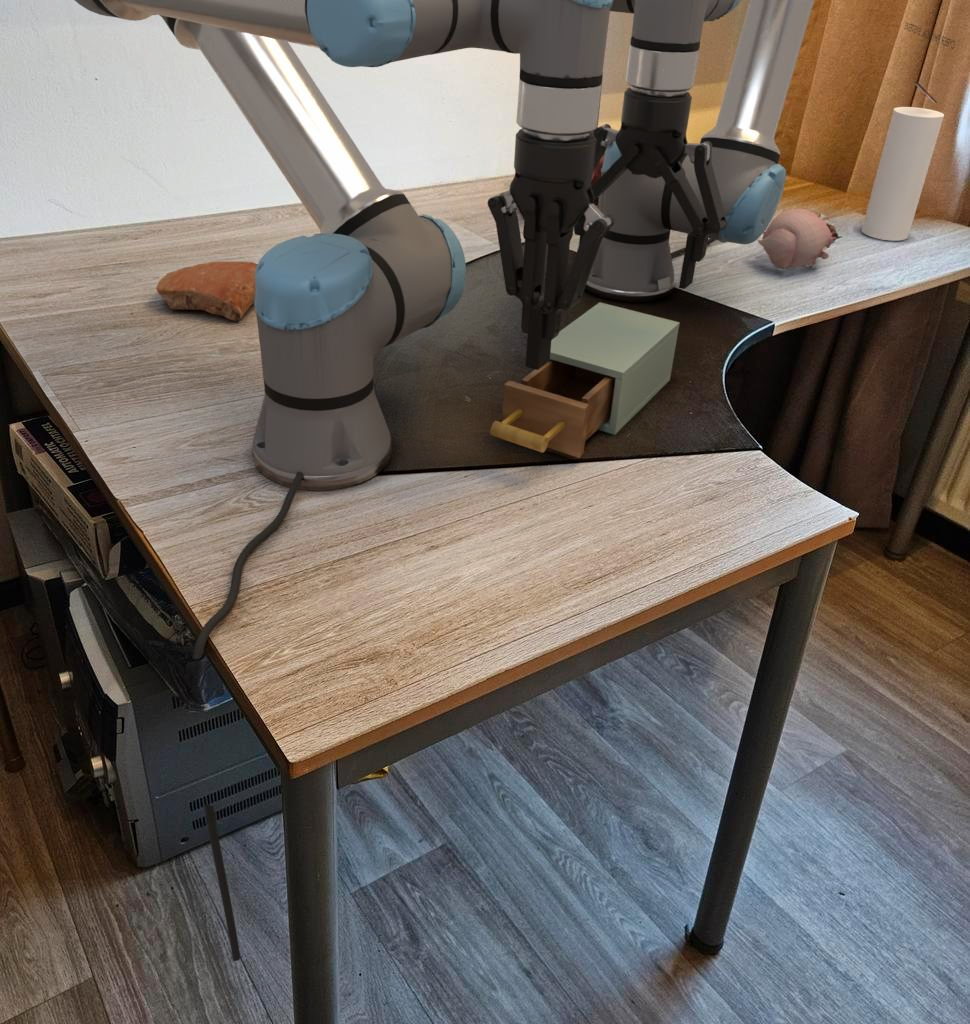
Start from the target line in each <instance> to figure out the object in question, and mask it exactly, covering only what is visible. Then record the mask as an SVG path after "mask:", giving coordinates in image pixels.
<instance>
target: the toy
mask: <svg viewBox="0 0 970 1024" xmlns="http://www.w3.org/2000/svg"><path fill="white" fill-rule="evenodd" d="M830 221H831V220H830V219H829V217H827V216H826V215H825V214H824V213H820V214H816V213H814V212H813V211H811V210H808V209H805V208H798V207H797V208H789V209H787V210H784V211H783V212H781V213H779V214H778V215H777V216H776V217H775V218H774V219H772V220H771V221H770V223H769V225H768V227H767V228H766V230H765V231H764V232H763V234H762V239H757V242H758V243H759V245H760V246H762V248H763V251H764V252H765V253H766V255H767V257H768V259H769V261H770V262H771V264H773V266H774V267H775V268H777V269H783V270H785V271H788V270H790V269H792V267H793V268H805V269H807V266H809V268H813V267H814V266H815V265H816V263H817V259H819V258H820V259H822V260H827V259H828V258H829V254H828V253H827V252H826V250H827V249H829V248H830V247H831V245H832V244H834V243H835V242H836V241H837V240H838V239H841V238H842V236H841V235H840V236H839V233H838V232H837V228H836V226H835V223H830Z"/></svg>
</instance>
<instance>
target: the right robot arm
mask: <svg viewBox="0 0 970 1024" xmlns="http://www.w3.org/2000/svg"><path fill="white" fill-rule="evenodd" d="M741 1H742V0H613V4H611V5H612V6H611V7H610V12H615V13H624V14H632V15H633V17H632V20H633V21H632V26H631V37H630V44H629V52H628V59H627V66H626V74H625V83H626V84H627V85H628V86H629V87H627V88H626V90H625V91H624V93H623V100H622V109H621V111H622V112H621V119H620V128H619V130H618V129H614V128H612V126H611V125H610V124H608V123H606V124H603V125H600V126H598V128H597V129H596V130H594V132H593V135H594V136H595V138H596V150H595V160H594V169H595V168H596V166H597V164H598V163H599V161H600V159H601V158H602V156H603V154H604V153H605V155H604V161H603V167H602V168H601V172H602V174H601V177H600V178H599V179H598V180H597V181H596V182H595V183H594V184H593V185H592V186H591V188H592V192H593V194H594V202H595V201H596V200H597V199H598V204H597V208H598V209H599V210H600V211H601V212H602V213H603V214H604V215H607V214H610V215H612V216H613V217H614V220H615V222H614V225H613V226H612V227H611V228H610V230H609V231H608V232H607V233H606V234H605V236H604V237H603V238H602V241H601V244H600V247H599V250H598V253H597V255H596V258H595V261H594V264H593V267H592V269H591V272H590V275H589V278H588V281H587V283H586V286H585V289H584V291H587V292H589V293H591V294H593V295H595V296H597V297H600V298H603V299H608V300H612V301H617V302H625V303H626V302H628V303H629V302H630V303H646V302H647V303H648V302H654V301H659V300H662V299H664V298H667V297H669V296H670V295H671V294H672V293H673V291H674V286H675V281H676V279H675V271H674V265H673V259H672V258H674V257H677V256H679V255H682V254H683V259H682V266H681V271H680V276H679V277H680V278H679V282H678V283H679V284H678V289H680V290H686V289H687V288H688V287H689V286H691V285H692V284H693V282H694V276H695V271H696V265H697V263H700V262H701V261H702V260H704V258H705V256H706V254H707V247H708V245H709V244H712V243H713V242H715V241H719V242H721V243H723V244H724V243H730V244H731V243H732V244H737V245H750V244H753V243H754V242H756V241H758V240H759V239H760V237H761V236H763V233H764V232H766V230H767V228H768V227H769V225H770V224H771V222H772V220H773V217H774V215H775V213H776V212H777V209H778V206H779V204H780V202H781V199H782V196H783V193H784V186H785V184H786V180H787V170H786V169H785V167H784V166H783V165H781V164H780V163H779V161H780V158H781V150H780V149H779V147H778V145H777V144H776V141H775V136H776V134H777V130H778V127H779V123H780V119H781V116H782V112H783V109H784V106H785V102H786V98H787V95H788V91H789V89H790V84H791V81H792V78H793V75H794V71H795V68H796V64H797V62H798V57H799V55H800V50H801V47H802V43H803V40H804V37H805V34H806V29H807V26H808V23H809V21H810V16H811V13H812V9H813V6H814V4H815V3H814V2H815V0H749V2H748V6H747V10H746V13H745V16H744V21H743V23H742V28H741V31H740V35H739V39H738V43H737V46H736V50H735V52H734V53H735V54H734V57H733V59H732V60H733V61H732V64H731V68H730V72H729V75H728V78H727V83H726V87H725V91H724V94H723V96H722V101H721V105H720V109H719V112H718V116H717V119H716V123H715V125H714V127H713V128H712V129H711V130H709V131H707V132H706V133H705V134H703V135H702V136H701V138H700V141H699V143H698V142H697V143H696V142H688V140H687V131H688V126H689V119H690V114H691V113H690V112H691V107H692V99H693V97H692V95H691V93H690V90H691V89H692V88H694V86H695V78H696V73H697V66H698V60H699V54H700V46H701V41H702V33H703V27H704V23H706V22H714V21H716V20H720V19H721V18H724V17H725V16H726V15H727V14H729V13H731V12H732V11H734V9H735V8H737V6H739V4H740V3H741ZM594 169H593V171H594ZM585 220H586V218H585V215H584V216H583V218H582V219H581V220H580V221H579V222H578V223H577V224H576V226H575V227H574V229H573V234H574V235H575V236H579V240H578V245H579V244H580V242H581V239H582V237H583V236H584V234H585V233H586V231H584V223H585ZM671 231H673V232H678V233H682V234H687V235H686V242H685V247H681V248H679V249H678V250H675V251H672V252H671V246H670V236H671Z"/></svg>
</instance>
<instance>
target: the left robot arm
mask: <svg viewBox="0 0 970 1024" xmlns="http://www.w3.org/2000/svg"><path fill="white" fill-rule="evenodd" d="M74 2H76V3H77V4H78V5H79V6H81V7H83V8H84V9H86V10H87V11H89V12H92V13H94V14H97V15H99V16H105V17H111V18H117V19H122V20H126V21H127V20H128V21H135V22H136V21H137V22H138V21H143V20H146V19H149V18H150V17H152V16H159V17H161V18H162V20H163V21H164V23H165V24H166V26H167V27H168V29H169V30H170V31H171V33H172V34H173V36H174V37H175V39H176V41H177V42H178V43H179V44H180V45H181V46H182V47H185V48H187V49H191V50H192V49H193V50H198V51H200V52H201V53H202V55H203V56H204V58H205V59H206V61H207V62H208V64H209V65H210V67H211V68H212V70H213V72H214V73H215V74H216V76H217V77H218V79H219V80H220V82H221V83H222V85H223V86H224V88H225V90H226V91H227V93H228V94H229V96H230V97H231V98H232V100H233V101H234V103H235V105H237V108H238V109H239V110H240V112H241V113H242V115H243V116H244V119H245V120H246V121H247V122H248V124H249V126H250V127H251V128H252V130H253V132H254V133H255V135H256V136H257V138H258V140H260V142H261V144H262V145H263V147H264V148H265V150H266V151H267V152H268V154H269V156H270V157H271V159H272V160H273V161H274V163H275V164H276V166H277V167H278V169H279V171H280V172H281V173H282V175H283V176H284V178H285V179H286V181H287V182H288V184H289V186H290V187H291V189H292V190H293V192H294V193H295V195H296V196H297V197H298V199H299V200H300V202H301V204H302V205H303V206H304V209H306V211H307V213H308V214H309V216H310V217H311V219H312V220H313V222H314V223H315V224H316V226H317V228H318V229H319V230H320V233H314V234H313V235H311V236H306V235H300V236H296V237H293V238H289V239H287V240H284V241H282V242H280V243H278V244H276V245H273V246H272V247H271V248H270V249H268V250H267V251H266V252H265V253H264V254H263V255H262V256H261V257H260V259H259V261H258V262H257V264H258V265H257V267H256V271H255V289H256V291H255V297H254V303H253V305H254V310H255V313H256V322H257V331H258V340H259V349H260V357H261V358H260V359H261V368H262V379H263V388H264V390H263V391H264V396H263V400H262V404H261V408H260V412H259V415H258V419H257V423H256V427H255V430H254V434H253V439H252V455H253V460H254V464H255V467H256V468H257V470H258V471H259V472H260V473H261V474H262V475H263V476H265V477H266V478H268V479H269V480H271V481H273V482H275V483H278V484H280V485H283V486H286V487H289V488H288V491H287V493H286V494H285V495H286V496H285V497H284V500H283V503H282V505H281V507H280V510H279V512H278V513H277V514H276V516H275V517H274V519H273V520H272V521H271V523H270V524H268V526H266V527H265V528H264V529H263V530H262V531H260V532H259V533H258V534H257V535H256V536H254V537H253V538H252V539H251V540H250V541H249V542H248V543H246V545H245V547H244V548H243V549H242V550H241V552H240V553H239V555H238V557H237V559H236V561H235V563H234V566H233V570H232V575H231V580H230V587H229V591H228V594H227V598H226V600H225V602H224V604H223V605H222V607H221V608H220V609H219V610H218V611H217V612H216V613H214V614H213V615H212V616H211V617H210V618H209V619H208V620H207V622H206V623H205V624H204V625H203V627H202V629H201V631H200V632H199V634H198V636H197V639H196V640H195V645H194V648H193V652H192V656H191V657H192V659H193V660H199V659H201V658H202V657H203V654H204V651H205V647H206V643H207V641H208V639H209V636H210V635H211V633H212V632H213V631H214V629H215V628H216V627H217V626H218V625H219V624H220V623H221V622H222V621H223V620H224V619H225V618H226V617H227V616H228V615H229V613H231V611H232V609H233V607H234V606H235V603H236V601H237V599H238V597H239V592H240V587H241V582H242V574H243V569H244V566H245V564H246V562H247V559H248V558H249V557H250V555H251V553H252V552H253V551H254V550H255V549H257V547H258V546H260V545H261V544H262V543H263V542H264V541H265V540H267V539H268V538H269V537H270V536H271V535H272V534H274V532H276V530H277V529H278V528H279V527H280V526H281V524H282V523H283V522H284V520H285V519H286V517H287V515H288V513H289V511H290V509H291V506H292V503H293V501H294V498H295V496H296V494H297V491H298V489H301V490H312V491H314V490H315V491H323V490H327V491H328V490H337V489H342V488H348V487H351V486H355V485H358V484H361V483H363V482H366V481H368V480H370V479H373V478H374V477H375V476H377V475H378V474H380V473H381V472H382V471H383V470H384V469H385V468H386V467H387V466H388V464H389V463H390V461H391V458H392V436H391V435H392V434H391V432H390V430H389V427H388V424H387V422H386V419H385V417H384V413H383V411H382V408H381V406H380V403H379V400H378V398H377V395H376V393H375V385H374V354H375V353H376V352H378V351H380V350H382V349H384V348H385V347H387V346H390V345H392V344H394V343H396V342H398V341H399V340H401V339H404V338H405V337H407V336H409V335H411V334H413V333H415V332H417V331H420V330H422V329H427V328H430V327H431V326H433V325H434V324H435V323H436V322H437V321H439V320H440V319H441V318H443V317H444V316H446V315H448V314H449V313H450V312H451V311H452V310H453V309H454V308H456V306H457V305H458V303H459V301H460V300H461V298H462V295H463V293H464V291H465V287H466V283H465V277H466V275H467V265H466V257H465V254H464V250H463V247H462V244H461V242H460V240H459V237H458V236H457V235H456V233H455V232H454V231H453V229H452V227H450V226H449V225H448V224H447V223H446V222H444V221H443V220H442V219H440V218H434V217H433V216H432V215H427V214H420V215H419V214H418V213H417V211H416V209H415V207H414V206H413V205H412V203H411V202H410V201H409V199H408V198H407V196H406V194H405V192H403V191H400V190H396V189H390V188H386V187H385V186H383V185H382V182H381V181H380V180H379V177H377V175H376V174H375V172H374V171H373V169H372V168H371V166H370V164H369V163H368V161H367V160H366V158H365V156H364V155H363V154H362V152H361V151H360V149H359V148H358V146H357V145H356V143H355V142H354V140H353V139H352V137H351V136H350V134H349V132H348V131H347V130H346V127H344V125H343V123H342V122H341V121H340V119H339V117H338V116H337V114H336V113H335V111H334V110H333V108H332V107H331V105H330V104H329V101H328V100H327V99H326V98H325V96H324V94H323V93H322V91H321V90H320V88H319V87H318V85H317V84H316V82H315V81H314V80H313V77H312V76H311V74H310V73H309V72H308V70H307V68H306V67H305V65H304V64H303V62H302V60H301V59H300V58H299V56H298V55H297V53H296V52H295V50H294V49H293V47H292V45H291V44H290V43H292V44H296V45H301V46H306V47H311V48H315V49H319V50H320V51H321V52H323V53H324V54H325V56H327V57H328V58H329V59H330V60H331V61H332V62H333V63H335V64H337V65H340V66H342V67H345V68H360V67H363V68H380V67H383V66H386V65H389V64H391V63H395V62H400V61H404V60H405V61H406V60H410V59H414V58H419V57H420V58H421V57H425V56H431V55H438V54H443V53H447V52H453V51H459V50H465V49H481V50H489V51H498V52H504V53H508V54H514V55H515V54H517V55H518V54H519V81H518V95H517V105H516V106H517V107H516V119H515V123H516V124H517V125H518V126H519V127H520V129H519V130H518V131H517V132H516V133H515V143H514V158H513V160H514V161H513V169H514V176H513V178H512V180H511V181H510V184H509V189H508V190H506V191H503V192H500V193H499V194H496V195H494V196H492V197H490V198H488V199H487V207H488V209H489V211H490V214H491V215H492V217H493V220H494V223H495V227H496V234H497V239H498V240H497V241H498V247H499V253H500V260H501V266H502V267H501V268H502V273H503V280H504V286H505V292H506V294H507V295H508V296H511V297H513V296H514V297H516V298H517V299H518V300H520V301H521V306H522V308H521V320H520V321H521V323H520V329H521V332H522V333H523V334H527V339H526V352H525V366H524V367H526V368H530V369H533V370H535V369H536V370H538V369H540V368H541V367H542V366H544V365H545V364H546V363H548V362H549V361H550V351H551V340H552V339H554V338H555V337H557V336H558V334H559V332H560V331H561V323H562V314H563V313H562V312H563V310H566V311H567V310H569V309H571V308H572V307H574V306H575V305H576V304H578V303H579V302H580V301H582V298H583V294H584V291H585V286H586V283H587V281H588V278H589V275H590V272H591V269H592V267H593V264H594V261H595V258H596V255H597V253H598V250H599V247H600V244H601V241H602V238H603V237H604V236H605V234H606V233H607V232H608V231H609V230H610V228H611V227H612V226H613V225H614V222H615V220H614V217H613V216H612V215H610V214H607V215H604V214H603V213H602V212H601V211H600V210H599V209H598V206H597V205H596V204H595V201H594V194H593V192H592V188H591V180H592V176H593V169H594V160H595V150H596V138H595V136H594V135H593V134H592V133H591V132H593V131H594V130H596V129H597V127H599V117H600V107H601V97H602V88H603V79H604V78H603V74H604V64H605V63H604V62H605V57H606V56H605V55H606V48H607V47H606V46H607V39H608V30H609V22H610V14H611V11H610V7H611V6H612V5H611V4H613V0H74ZM517 210H518V212H519V214H520V216H521V217H522V220H523V231H522V234H521V228H520V221H519V217H518V213H517ZM584 215H585V218H586V220H585V223H584V231H586V233H585V234H584V236H583V237H582V239H581V242H580V244H579V243H578V247H577V251H576V253H575V256H574V259H573V263H572V265H571V268H570V270H569V273H568V268H569V259H570V249H571V247H570V246H571V240H572V239H573V236H574V227H575V226H576V224H577V223H578V222H579V221H580V220H581V219H582V218H583V216H584ZM521 235H522V236H521ZM522 237H523V239H524V249H523V242H522ZM546 252H547V253H546ZM546 255H547V256H546ZM545 265H546V266H545ZM545 267H546V269H545ZM544 277H545V279H544ZM544 280H545V281H544ZM543 288H544V289H543ZM543 290H544V291H543ZM541 298H543V299H542V300H540V299H541ZM203 807H204V814H205V819H206V825H207V830H208V836H209V841H210V846H211V851H212V856H213V861H214V867H215V872H216V876H217V882H218V887H219V891H220V897H221V902H222V907H223V911H224V917H225V922H226V927H227V928H226V929H227V933H228V938H229V944H230V950H231V951H230V952H231V956H232V960H233V962H238V961H239V960H240V959H241V952H240V951H241V950H240V946H239V940H238V932H237V927H236V922H235V916H234V911H233V910H234V909H233V906H232V900H231V895H230V889H229V884H228V879H227V873H226V869H225V863H224V858H223V853H222V848H221V842H220V837H219V832H218V826H217V820H216V813H215V807H214V805H211V804H206V803H204V804H203Z"/></svg>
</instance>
